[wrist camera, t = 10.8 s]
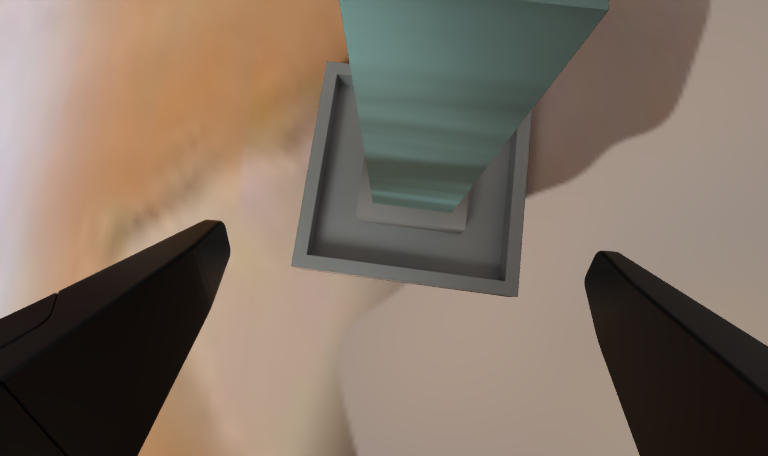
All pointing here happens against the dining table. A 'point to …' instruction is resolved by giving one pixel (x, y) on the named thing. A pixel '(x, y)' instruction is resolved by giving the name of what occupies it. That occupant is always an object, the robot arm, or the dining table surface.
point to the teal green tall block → (448, 93)
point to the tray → (402, 244)
